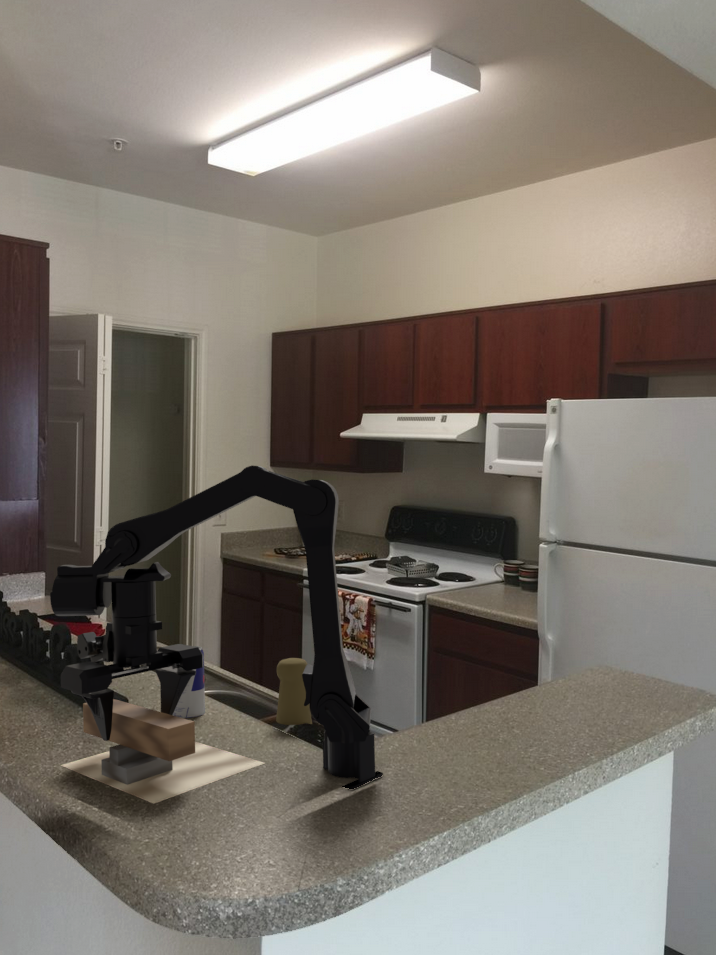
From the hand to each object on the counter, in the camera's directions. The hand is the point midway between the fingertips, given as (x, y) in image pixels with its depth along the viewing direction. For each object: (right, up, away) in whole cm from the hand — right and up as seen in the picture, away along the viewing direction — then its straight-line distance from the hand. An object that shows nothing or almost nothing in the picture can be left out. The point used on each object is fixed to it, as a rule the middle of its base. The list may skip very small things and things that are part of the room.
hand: (136, 731), depth 110 cm
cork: (+19, -7, +23) cm, 31 cm away
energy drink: (+1, -7, +28) cm, 29 cm away
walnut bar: (0, -1, 0) cm, 1 cm away
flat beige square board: (+3, -7, +3) cm, 8 cm away
